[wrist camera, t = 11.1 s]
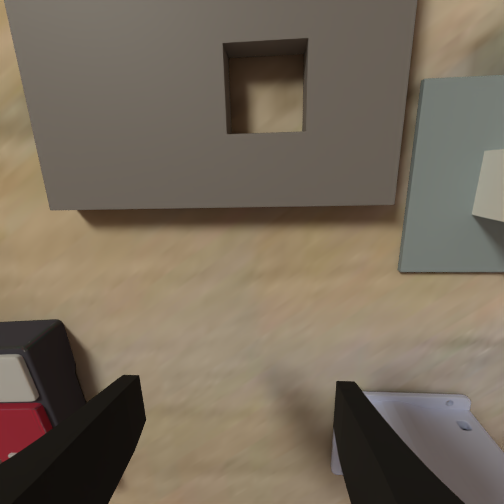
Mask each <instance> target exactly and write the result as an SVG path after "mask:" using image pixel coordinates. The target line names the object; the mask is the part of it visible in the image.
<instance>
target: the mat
mask: <svg viewBox="0 0 504 504" xmlns="http://www.w3.org/2000/svg"><path fill="white" fill-rule="evenodd" d="M499 149H504V75H494V76H473V77H452V78H431V79H424V80H422V81H421V86H420V94H419V102H418V110H417V118H416V126H415V134H414V142H413V150H412V158H411V167H410V175H409V183H408V191H407V199H406V207H405V215H404V223H403V231H402V239H401V247H400V255H399V263H398V270H399V271H400V272H504V222H502V221H498V220H493V219H489V218H484V217H480V216H476V215H472V210H473V205H474V200H475V195H476V191H477V186H478V181H479V176H480V171H481V166H482V161H483V156H484V151H488V150H499Z"/></svg>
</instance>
